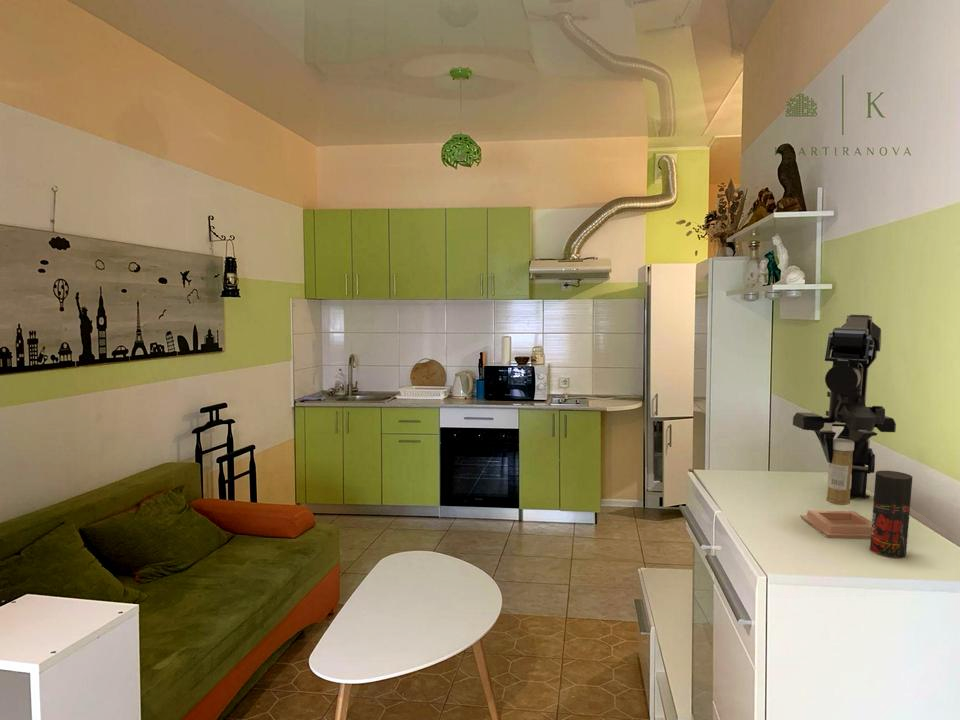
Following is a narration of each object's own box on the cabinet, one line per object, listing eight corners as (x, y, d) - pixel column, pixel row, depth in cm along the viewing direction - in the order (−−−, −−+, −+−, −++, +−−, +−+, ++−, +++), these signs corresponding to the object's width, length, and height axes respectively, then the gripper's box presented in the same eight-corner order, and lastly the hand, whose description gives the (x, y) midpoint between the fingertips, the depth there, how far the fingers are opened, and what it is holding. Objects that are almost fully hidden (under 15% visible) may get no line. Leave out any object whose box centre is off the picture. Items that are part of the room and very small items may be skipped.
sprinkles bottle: (854, 503, 144) (859, 440, 143) (842, 507, 142) (847, 443, 140) (833, 498, 148) (837, 436, 147) (821, 501, 145) (825, 438, 144)
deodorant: (862, 546, 133) (868, 470, 131) (892, 545, 134) (898, 470, 132) (883, 558, 127) (889, 479, 126) (913, 557, 128) (920, 479, 126)
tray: (855, 518, 149) (856, 509, 149) (887, 538, 137) (888, 529, 137) (800, 517, 149) (800, 508, 149) (827, 537, 137) (828, 528, 137)
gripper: (818, 393, 135) (813, 471, 136) (915, 395, 134) (908, 474, 136) (794, 385, 146) (789, 458, 147) (883, 388, 145) (877, 460, 147)
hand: (840, 462), depth 144 cm, fingers closed on sprinkles bottle, 4 cm apart
